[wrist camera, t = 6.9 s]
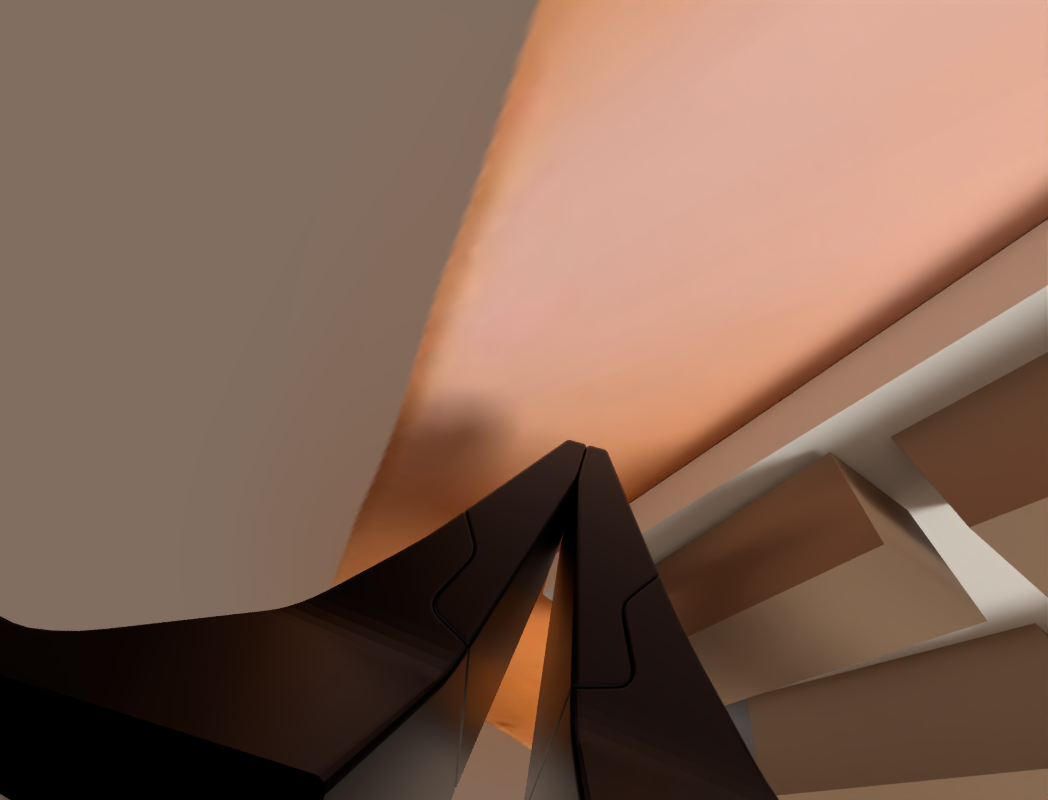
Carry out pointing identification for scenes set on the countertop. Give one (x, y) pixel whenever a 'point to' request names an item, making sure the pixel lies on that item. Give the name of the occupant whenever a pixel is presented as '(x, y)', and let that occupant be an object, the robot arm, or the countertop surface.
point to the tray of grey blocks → (948, 522)
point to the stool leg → (810, 583)
